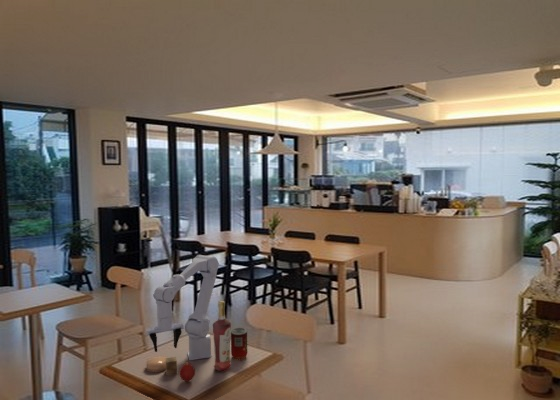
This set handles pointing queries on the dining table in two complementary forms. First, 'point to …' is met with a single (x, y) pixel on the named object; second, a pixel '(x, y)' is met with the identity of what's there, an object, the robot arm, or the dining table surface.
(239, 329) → the soda can
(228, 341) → the liquor
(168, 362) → the walnut block
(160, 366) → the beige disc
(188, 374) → the onion
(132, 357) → the dining table surface
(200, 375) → the dining table surface
